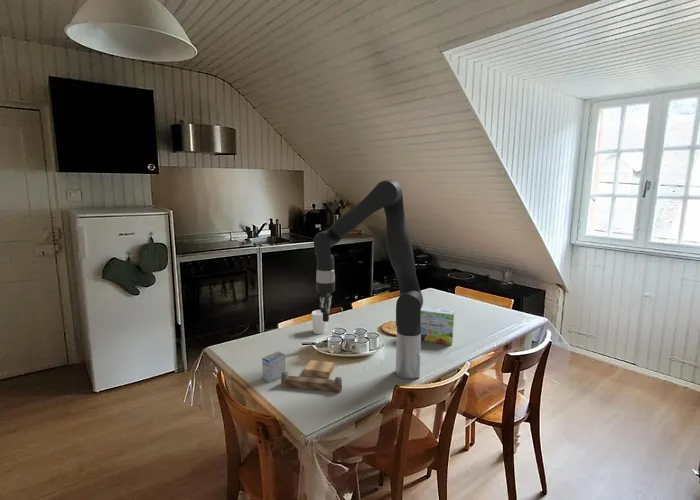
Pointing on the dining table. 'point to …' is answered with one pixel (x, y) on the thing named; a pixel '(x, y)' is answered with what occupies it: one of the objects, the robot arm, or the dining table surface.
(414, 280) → the robot arm
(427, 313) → the snack box
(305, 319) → the dining table surface
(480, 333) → the dining table surface
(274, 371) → the medicine box
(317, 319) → the white cup
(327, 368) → the light wooden block
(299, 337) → the dining table surface
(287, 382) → the bar
